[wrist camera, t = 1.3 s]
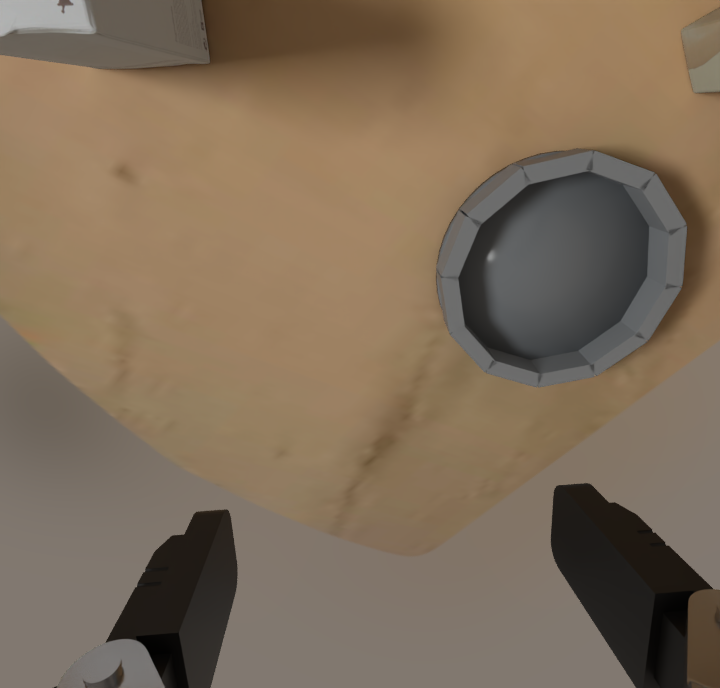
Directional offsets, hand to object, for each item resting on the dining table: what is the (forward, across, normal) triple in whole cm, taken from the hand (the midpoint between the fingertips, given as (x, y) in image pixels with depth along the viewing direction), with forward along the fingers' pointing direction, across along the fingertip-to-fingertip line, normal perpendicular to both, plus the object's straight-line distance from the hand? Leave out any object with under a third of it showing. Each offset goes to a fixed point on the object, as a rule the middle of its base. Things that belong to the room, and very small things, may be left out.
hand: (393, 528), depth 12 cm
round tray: (+26, -15, -3) cm, 31 cm away
